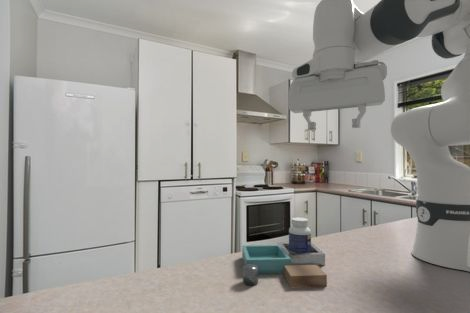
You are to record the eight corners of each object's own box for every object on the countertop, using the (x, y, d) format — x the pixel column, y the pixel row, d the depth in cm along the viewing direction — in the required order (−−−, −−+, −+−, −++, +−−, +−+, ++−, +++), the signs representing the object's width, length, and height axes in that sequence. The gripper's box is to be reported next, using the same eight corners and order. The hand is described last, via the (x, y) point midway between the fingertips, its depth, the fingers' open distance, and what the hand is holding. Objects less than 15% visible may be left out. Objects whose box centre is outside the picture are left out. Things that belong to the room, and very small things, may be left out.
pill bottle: (312, 263, 60) (311, 221, 61) (289, 261, 61) (288, 220, 62) (310, 255, 66) (309, 217, 66) (288, 253, 67) (288, 216, 67)
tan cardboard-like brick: (316, 276, 54) (316, 264, 54) (326, 288, 49) (326, 275, 49) (284, 277, 54) (284, 265, 54) (291, 289, 49) (290, 276, 49)
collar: (310, 251, 68) (310, 242, 68) (325, 264, 59) (325, 254, 59) (277, 252, 68) (277, 242, 68) (287, 265, 59) (287, 254, 59)
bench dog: (256, 278, 52) (256, 263, 52) (259, 285, 49) (259, 269, 49) (242, 279, 52) (242, 264, 52) (243, 286, 49) (243, 270, 49)
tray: (280, 256, 65) (280, 244, 65) (291, 273, 55) (291, 258, 55) (242, 257, 64) (242, 245, 64) (246, 274, 54) (246, 260, 54)
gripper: (387, 63, 55) (387, 127, 54) (294, 79, 66) (294, 132, 65) (386, 52, 49) (386, 123, 49) (285, 71, 60) (285, 129, 60)
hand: (333, 128), depth 57 cm, fingers open, 8 cm apart
